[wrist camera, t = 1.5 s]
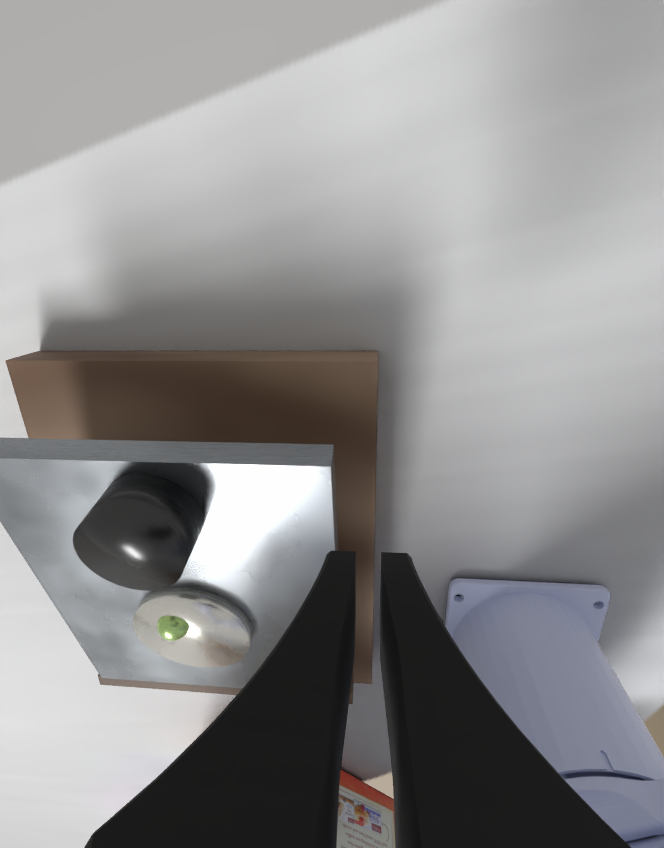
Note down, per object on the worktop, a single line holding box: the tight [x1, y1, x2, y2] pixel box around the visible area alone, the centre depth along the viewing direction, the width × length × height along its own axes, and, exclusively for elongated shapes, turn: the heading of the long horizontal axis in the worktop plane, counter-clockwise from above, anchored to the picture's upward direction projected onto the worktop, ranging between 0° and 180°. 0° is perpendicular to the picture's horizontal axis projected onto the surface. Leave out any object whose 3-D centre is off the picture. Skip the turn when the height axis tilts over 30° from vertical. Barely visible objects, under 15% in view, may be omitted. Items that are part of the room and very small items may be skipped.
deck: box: [0, 438, 338, 688], centre depth 18 cm, size 15×13×3 cm
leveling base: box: [6, 351, 378, 704], centre depth 21 cm, size 18×16×3 cm
